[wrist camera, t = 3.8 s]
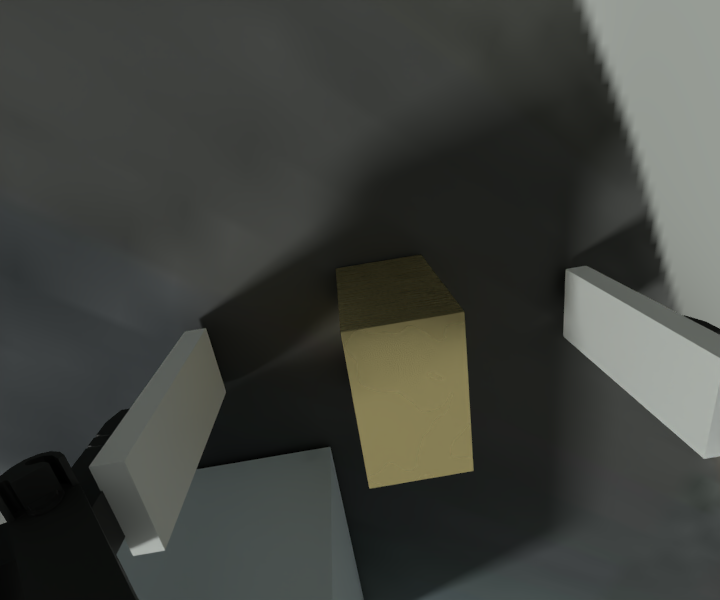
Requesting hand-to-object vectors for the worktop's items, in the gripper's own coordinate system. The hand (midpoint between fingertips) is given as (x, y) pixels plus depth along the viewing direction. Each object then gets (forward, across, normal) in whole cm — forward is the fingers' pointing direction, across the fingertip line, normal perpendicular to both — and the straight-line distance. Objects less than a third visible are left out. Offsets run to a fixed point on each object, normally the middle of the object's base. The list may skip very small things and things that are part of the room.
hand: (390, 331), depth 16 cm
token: (0, 0, 0) cm, 0 cm away
